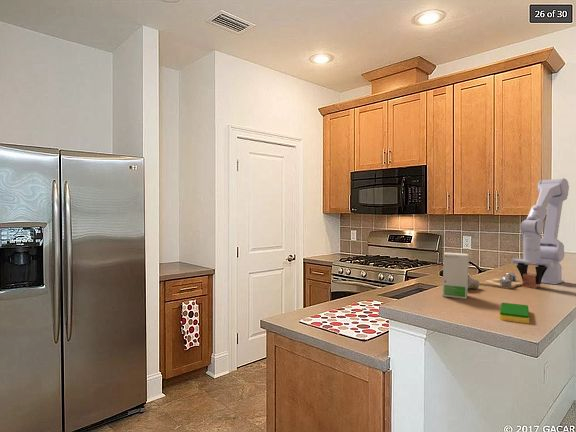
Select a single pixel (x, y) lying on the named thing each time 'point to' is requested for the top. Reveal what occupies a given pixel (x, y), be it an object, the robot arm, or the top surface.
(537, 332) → the top surface
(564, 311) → the top surface
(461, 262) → the skincare box
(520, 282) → the base board
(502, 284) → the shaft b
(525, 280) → the reddish brown block
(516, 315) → the dish sponge
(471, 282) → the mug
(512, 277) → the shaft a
